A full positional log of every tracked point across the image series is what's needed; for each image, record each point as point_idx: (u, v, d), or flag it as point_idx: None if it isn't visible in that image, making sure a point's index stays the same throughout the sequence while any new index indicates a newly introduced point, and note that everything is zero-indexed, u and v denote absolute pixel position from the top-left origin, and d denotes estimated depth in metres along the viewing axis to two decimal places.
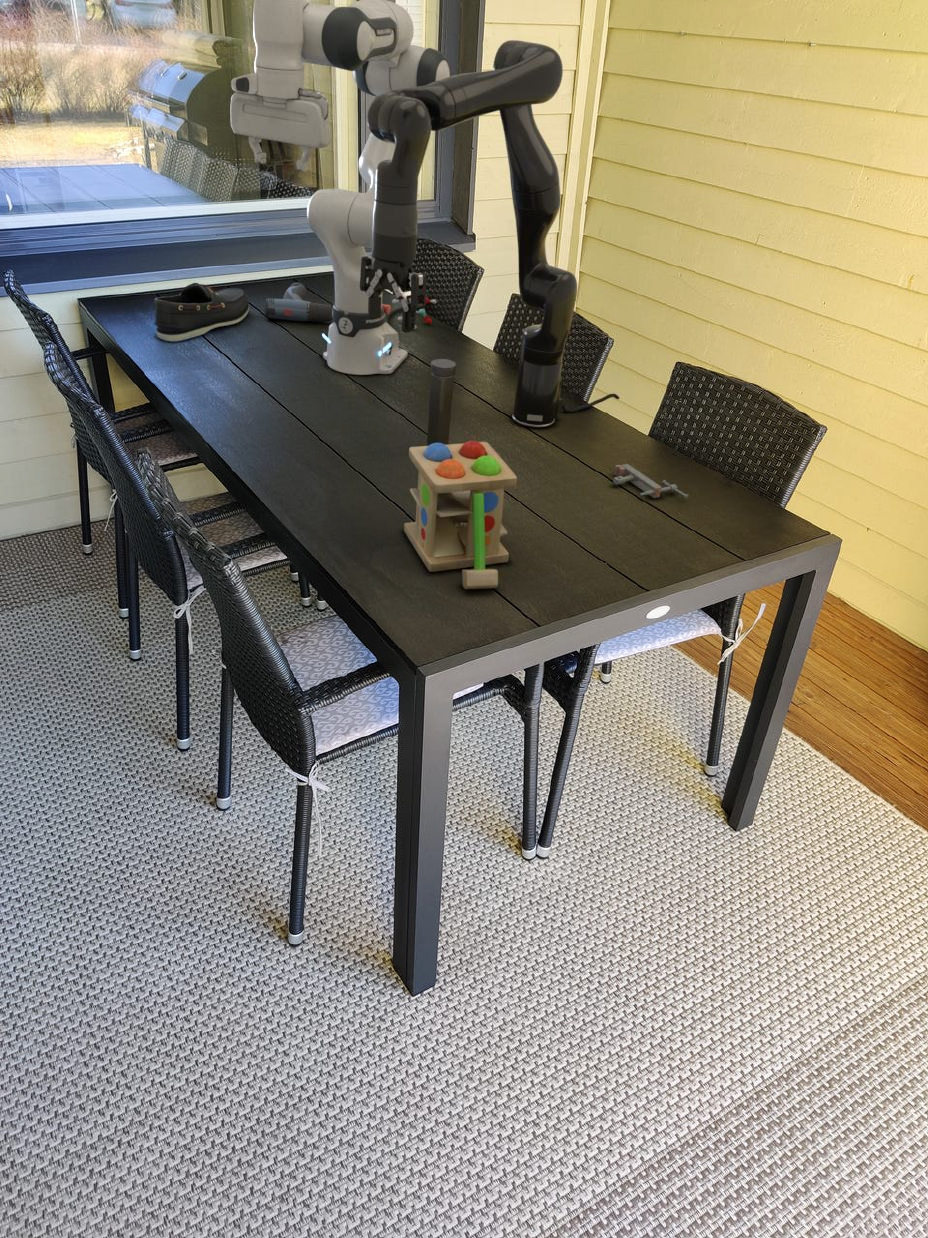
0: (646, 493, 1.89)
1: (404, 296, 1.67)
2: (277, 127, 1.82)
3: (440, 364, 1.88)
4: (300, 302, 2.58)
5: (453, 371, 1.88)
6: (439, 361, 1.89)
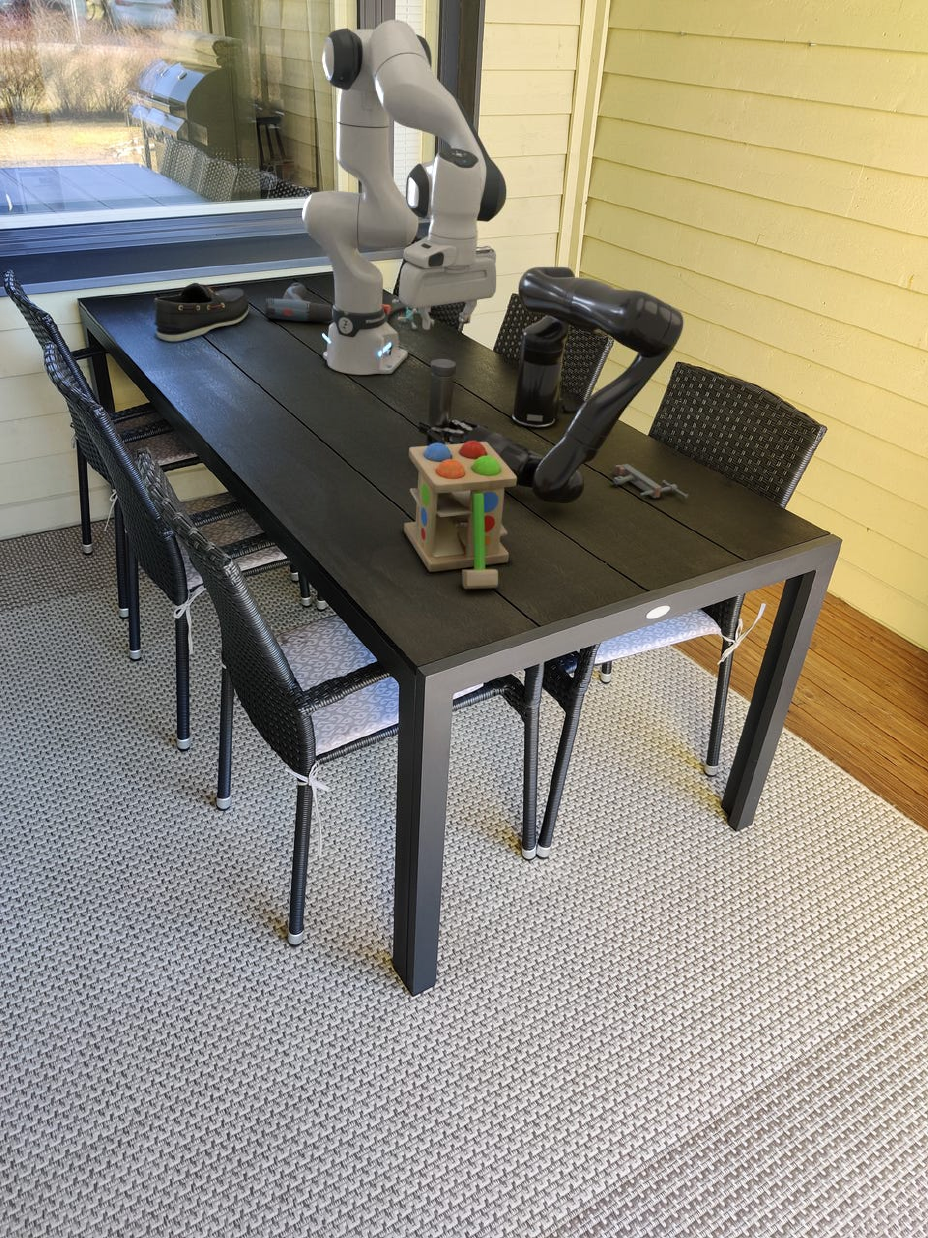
0: (646, 493, 1.89)
1: None
2: (457, 290, 1.80)
3: (440, 364, 1.88)
4: (300, 302, 2.58)
5: (453, 371, 1.88)
6: (439, 361, 1.89)
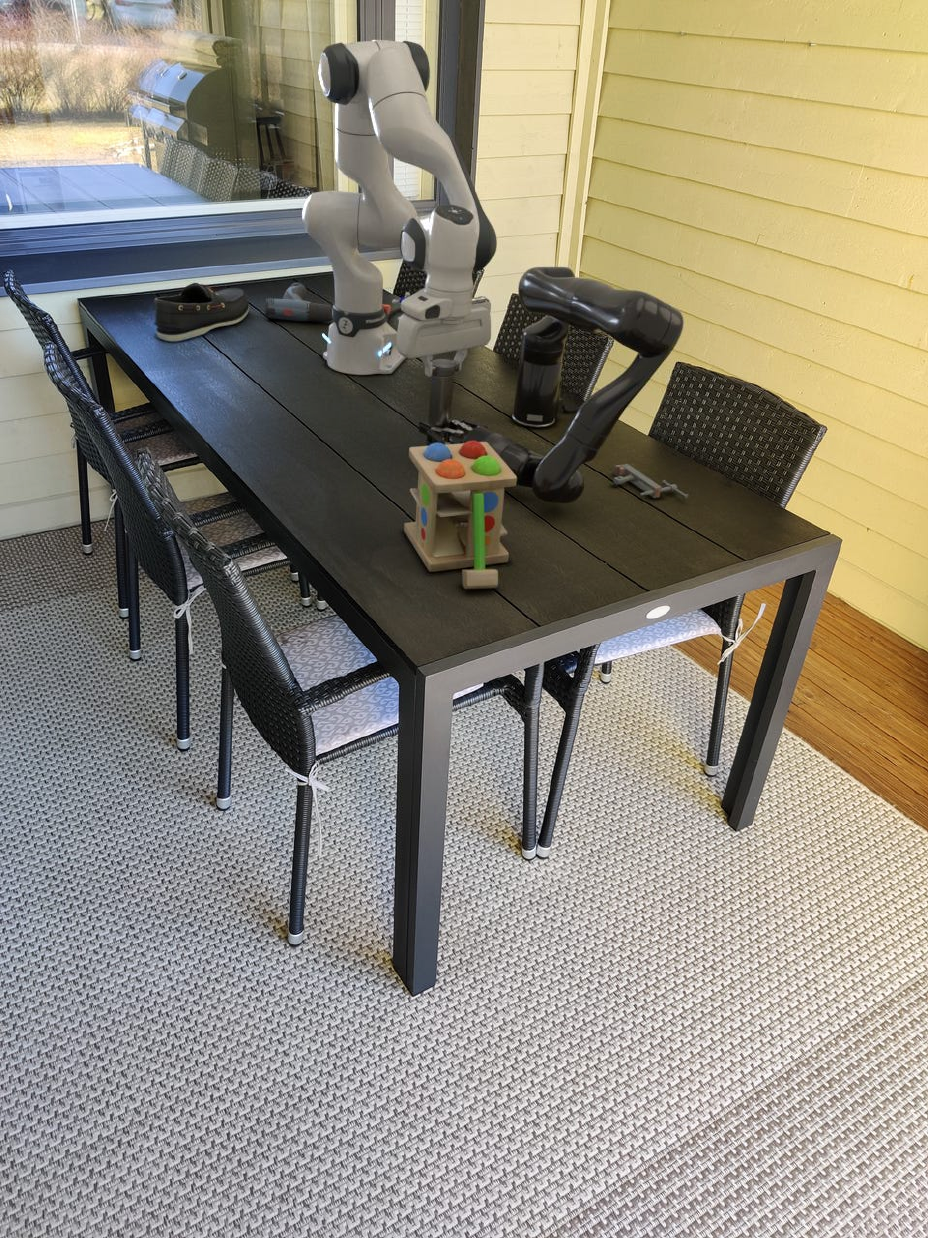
0: (646, 493, 1.89)
1: None
2: (453, 339, 1.85)
3: (440, 364, 1.88)
4: (300, 302, 2.58)
5: (453, 371, 1.88)
6: (439, 361, 1.89)
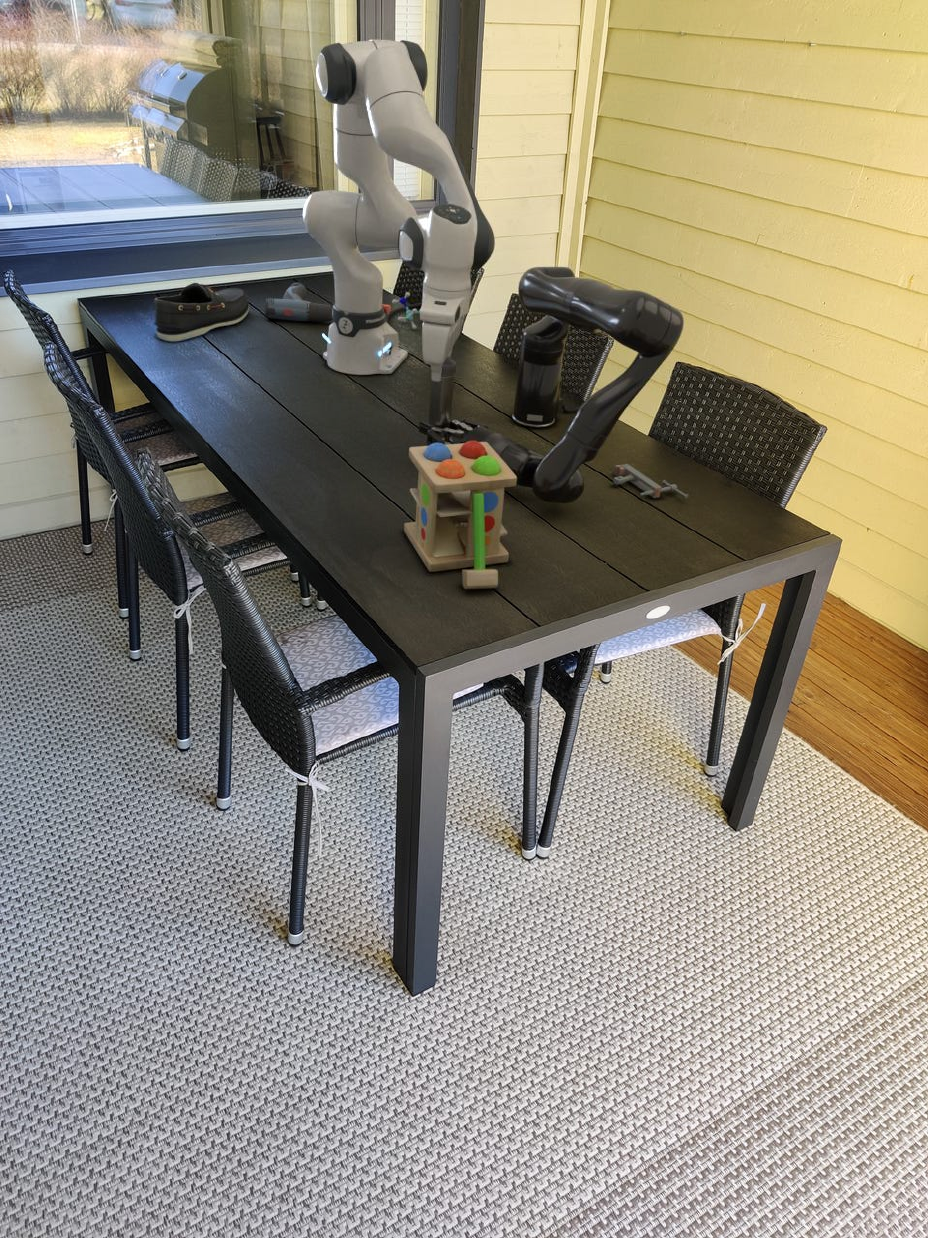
0: (646, 493, 1.89)
1: None
2: (453, 336, 1.86)
3: (447, 363, 1.88)
4: (300, 302, 2.58)
5: None
6: None
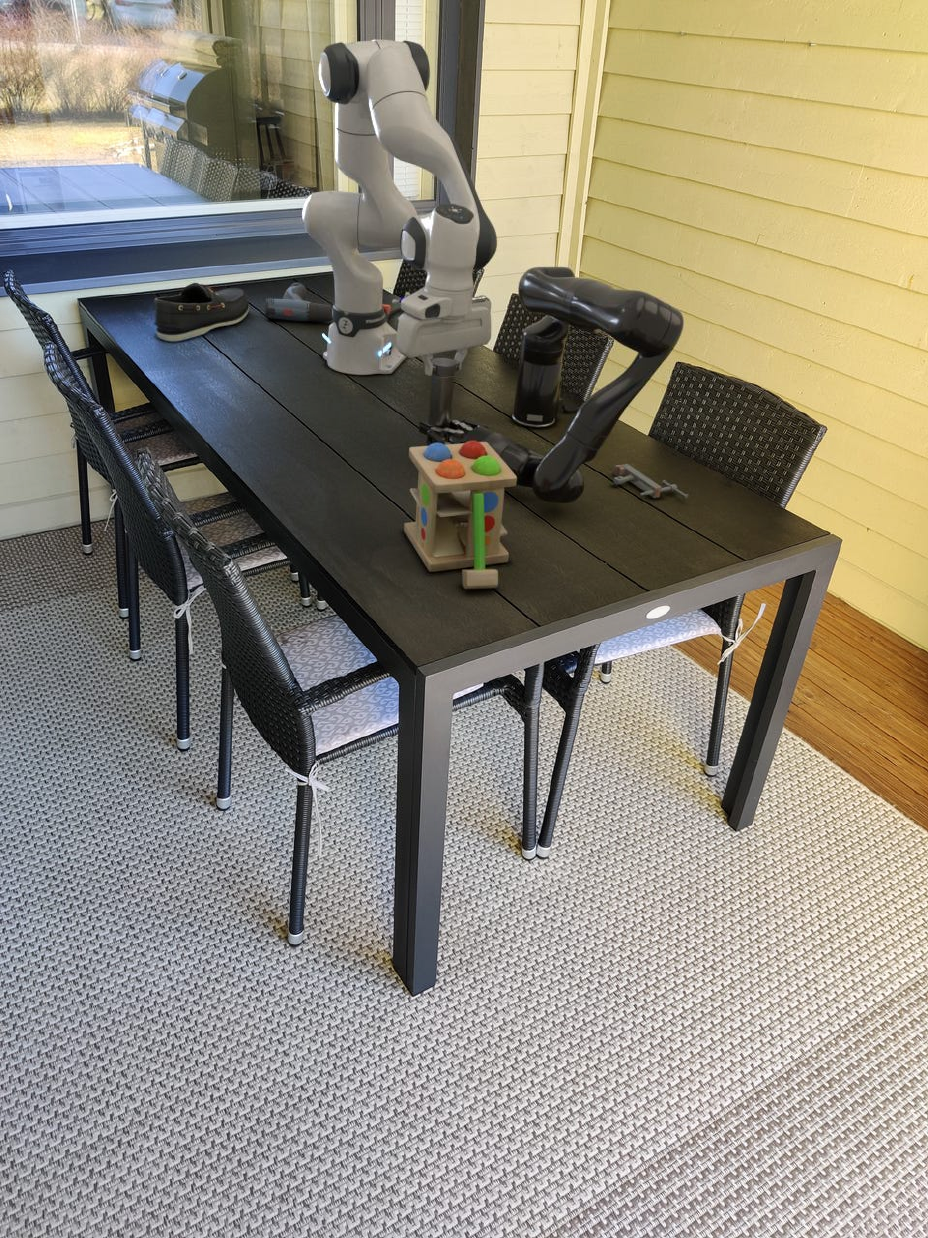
0: (646, 493, 1.89)
1: None
2: (453, 338, 1.85)
3: (447, 363, 1.88)
4: (300, 302, 2.58)
5: None
6: (440, 363, 1.88)
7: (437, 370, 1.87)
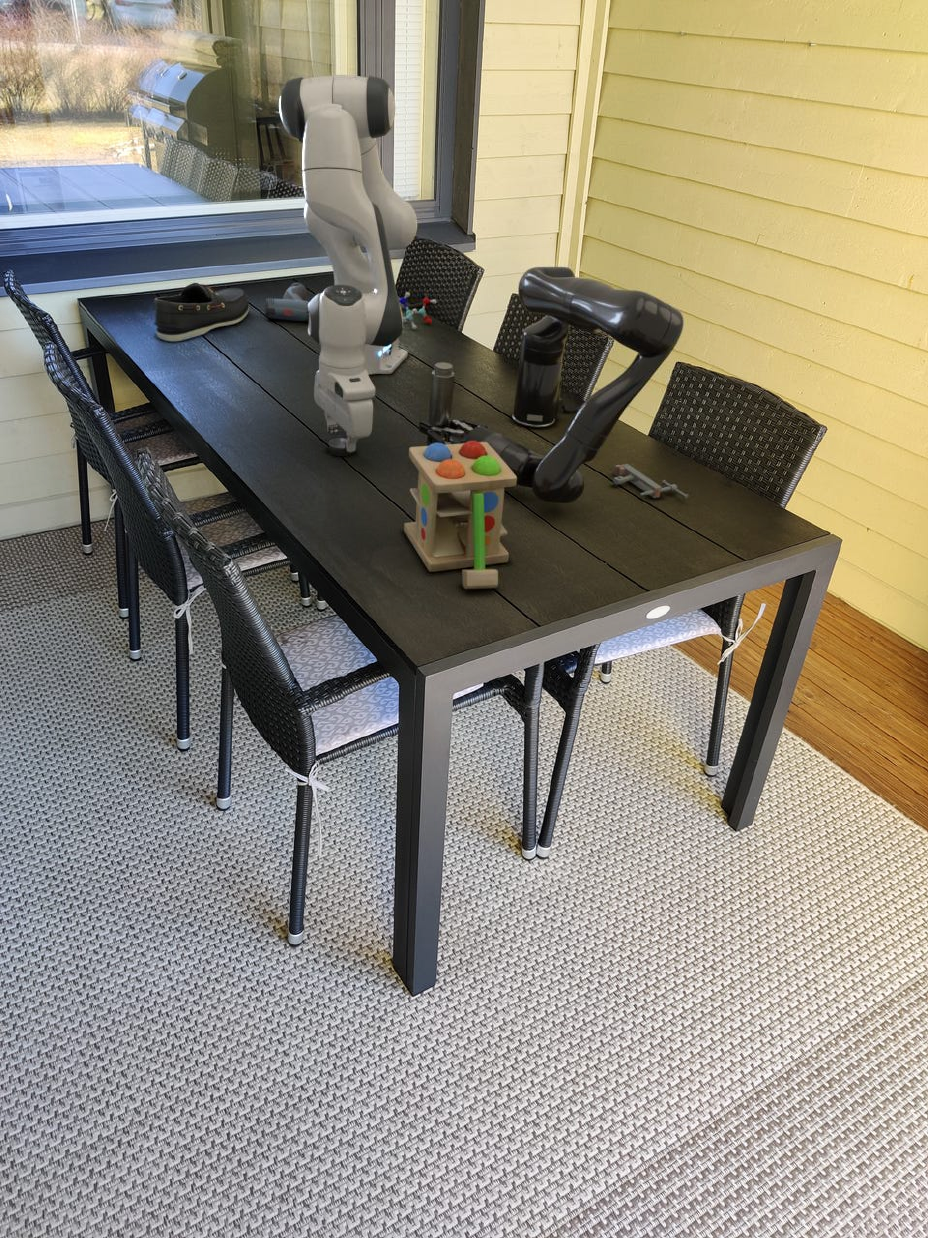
0: (646, 493, 1.89)
1: None
2: None
3: None
4: (300, 302, 2.58)
5: None
6: (343, 444, 1.95)
7: None
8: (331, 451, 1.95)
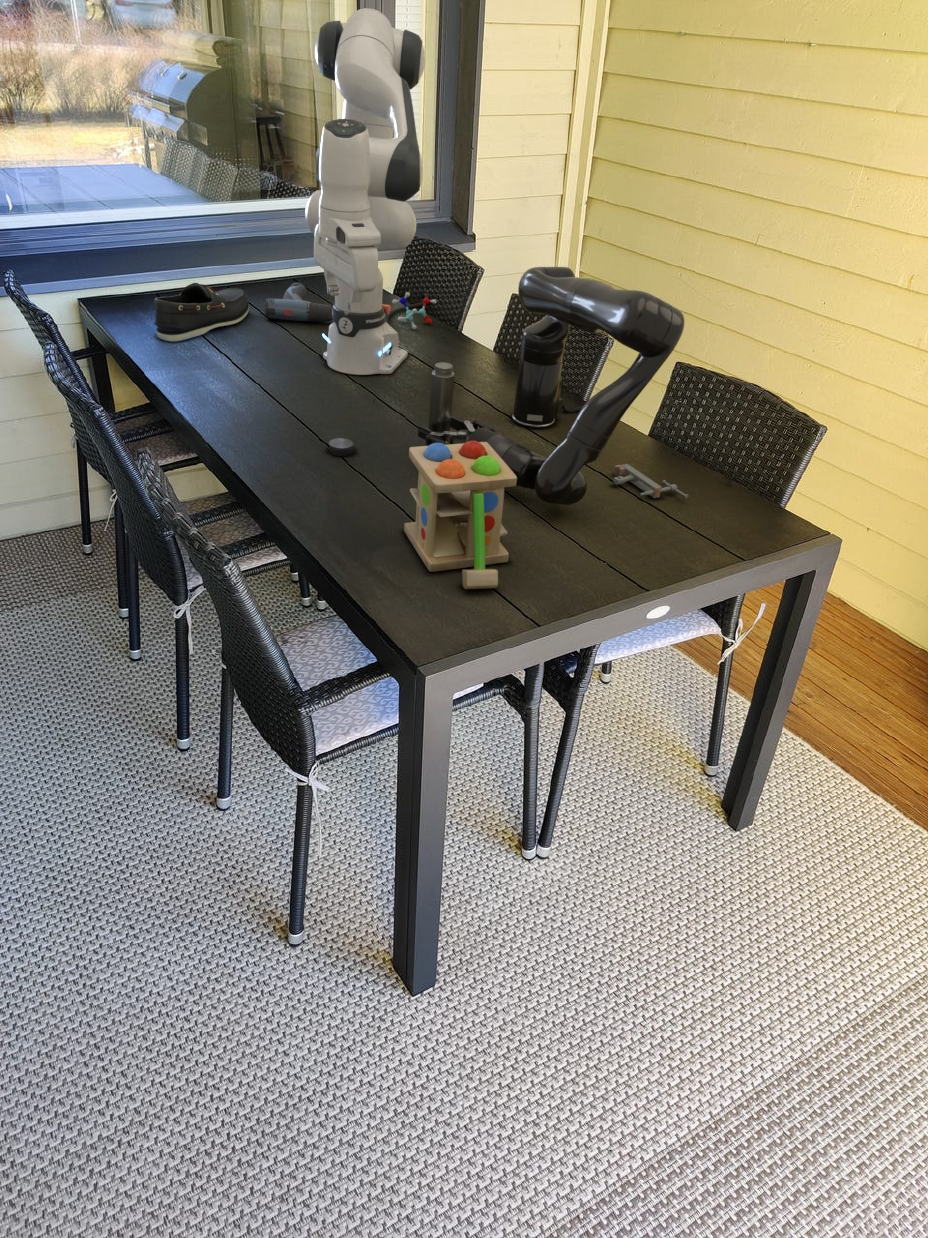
0: (646, 493, 1.89)
1: None
2: None
3: (345, 442, 1.97)
4: (300, 302, 2.58)
5: None
6: (343, 444, 1.95)
7: (349, 451, 1.95)
8: (331, 451, 1.95)
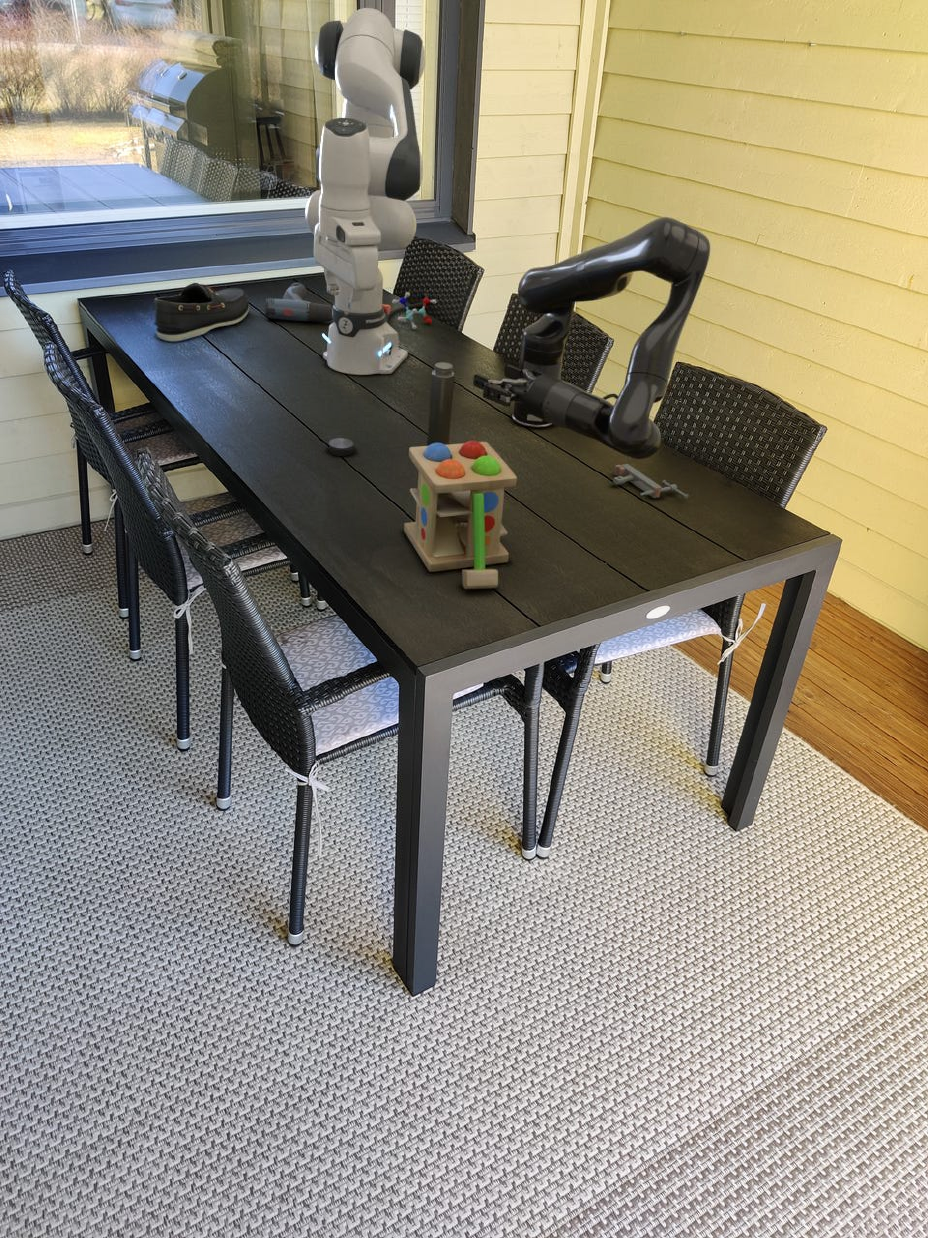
0: (646, 493, 1.89)
1: None
2: None
3: (345, 442, 1.97)
4: (300, 302, 2.58)
5: None
6: (343, 444, 1.95)
7: (349, 451, 1.95)
8: (331, 451, 1.95)
